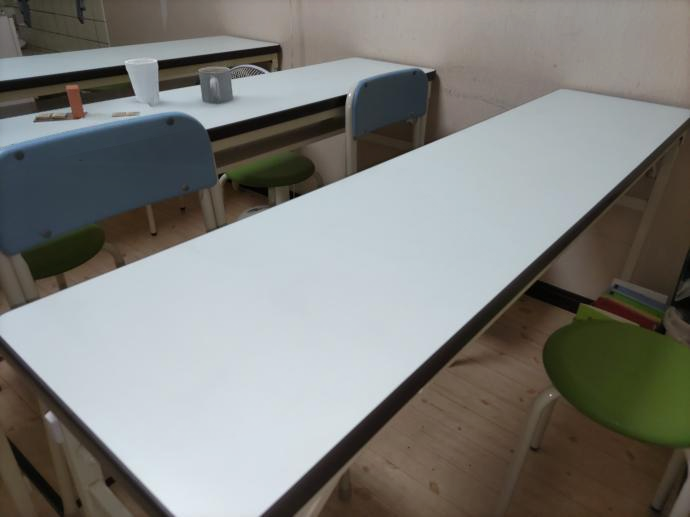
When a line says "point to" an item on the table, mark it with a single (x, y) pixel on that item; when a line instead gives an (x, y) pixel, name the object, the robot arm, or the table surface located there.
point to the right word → (123, 114)
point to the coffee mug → (216, 84)
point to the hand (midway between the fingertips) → (54, 23)
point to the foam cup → (144, 80)
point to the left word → (55, 117)
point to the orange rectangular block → (75, 101)
